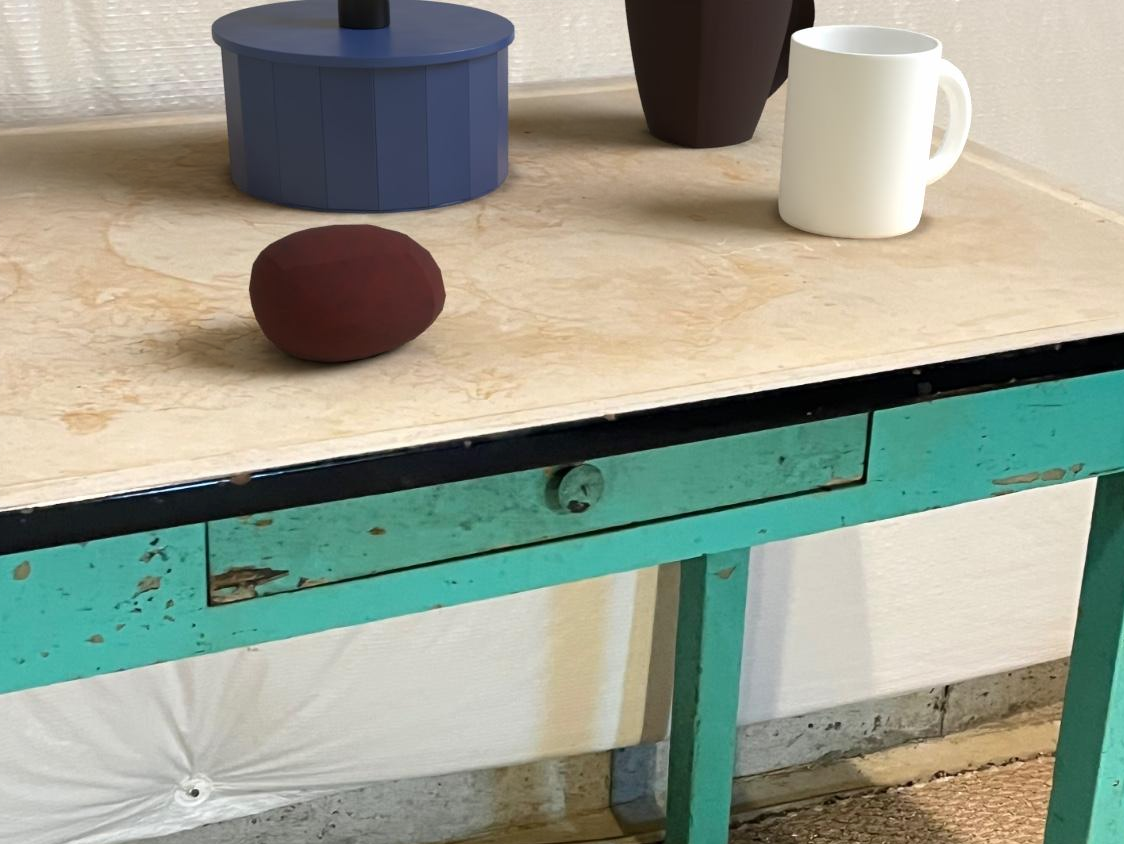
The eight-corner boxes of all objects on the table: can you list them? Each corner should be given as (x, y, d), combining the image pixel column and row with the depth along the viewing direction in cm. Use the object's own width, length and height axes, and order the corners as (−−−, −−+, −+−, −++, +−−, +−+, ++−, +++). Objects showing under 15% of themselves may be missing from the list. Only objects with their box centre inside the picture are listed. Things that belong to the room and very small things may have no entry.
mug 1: (596, 134, 115) (600, -54, 109) (748, 108, 122) (760, -69, 116) (691, 167, 108) (702, -31, 102) (846, 138, 115) (864, -49, 110)
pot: (172, 188, 101) (158, 41, 97) (347, 131, 114) (340, -2, 110) (399, 237, 94) (394, 80, 90) (558, 170, 107) (560, 30, 103)
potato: (249, 332, 81) (239, 207, 78) (436, 320, 83) (433, 198, 80) (260, 391, 74) (249, 258, 71) (462, 378, 76) (460, 247, 73)
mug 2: (916, 190, 105) (937, 16, 100) (1001, 228, 98) (1028, 44, 93) (750, 211, 100) (762, 30, 95) (827, 252, 93) (845, 59, 88)
